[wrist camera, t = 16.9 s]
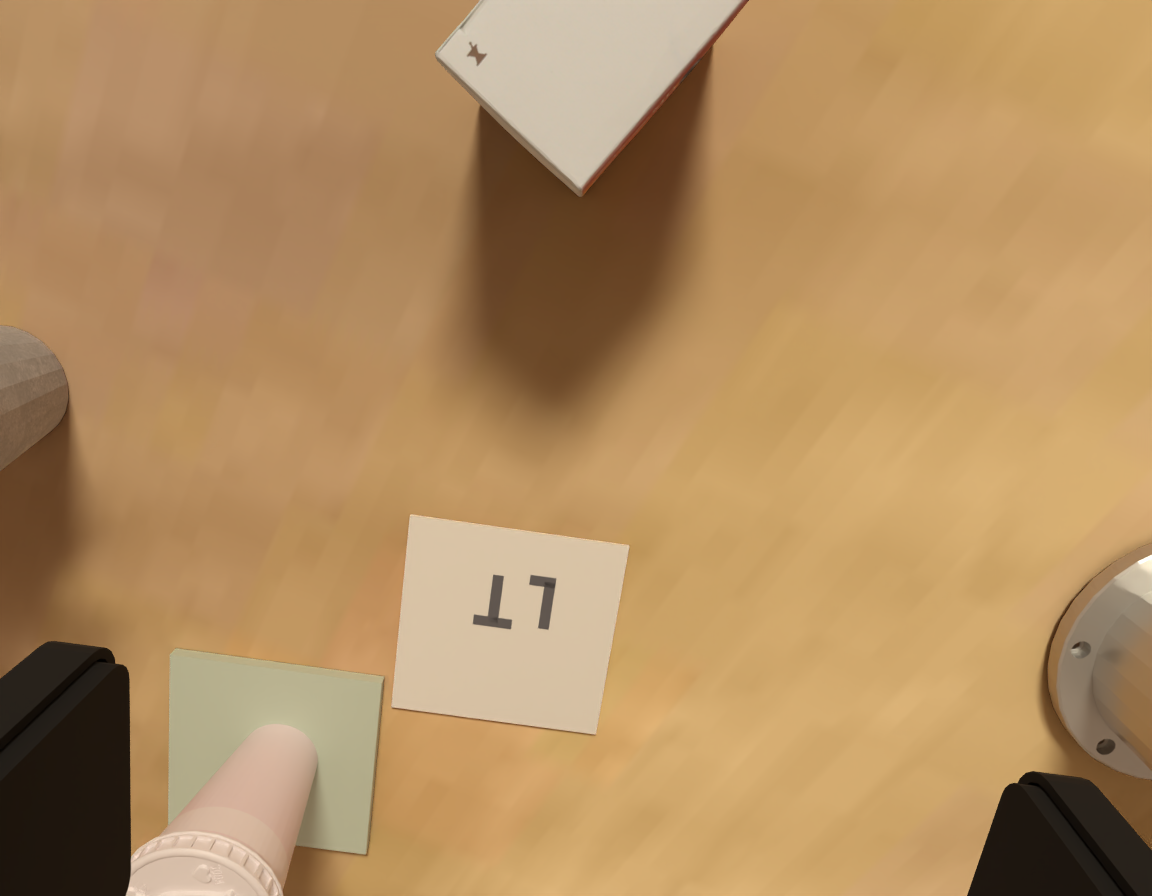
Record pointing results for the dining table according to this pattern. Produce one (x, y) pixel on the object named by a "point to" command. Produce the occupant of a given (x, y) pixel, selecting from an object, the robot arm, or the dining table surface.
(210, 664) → the sage pad
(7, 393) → the house plant
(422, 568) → the card
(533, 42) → the small box
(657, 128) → the dining table surface
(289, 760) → the smoothie
